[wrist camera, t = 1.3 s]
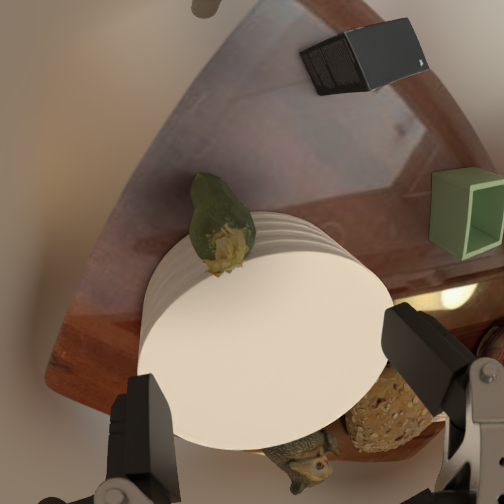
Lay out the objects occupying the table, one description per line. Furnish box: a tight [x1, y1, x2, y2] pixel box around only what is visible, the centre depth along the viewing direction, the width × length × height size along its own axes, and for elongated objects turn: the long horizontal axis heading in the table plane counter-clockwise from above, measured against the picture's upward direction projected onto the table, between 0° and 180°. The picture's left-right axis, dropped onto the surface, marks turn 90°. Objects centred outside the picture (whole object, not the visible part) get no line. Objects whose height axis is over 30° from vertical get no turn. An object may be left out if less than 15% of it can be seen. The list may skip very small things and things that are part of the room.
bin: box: [429, 167, 504, 260], centre depth 38 cm, size 11×11×8 cm
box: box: [300, 18, 429, 96], centre depth 25 cm, size 8×6×11 cm
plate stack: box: [137, 211, 394, 450], centre depth 36 cm, size 28×28×12 cm
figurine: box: [262, 430, 341, 495], centre depth 45 cm, size 14×15×15 cm
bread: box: [345, 363, 434, 453], centre depth 51 cm, size 24×21×12 cm
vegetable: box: [189, 173, 256, 278], centre depth 24 cm, size 4×4×20 cm
